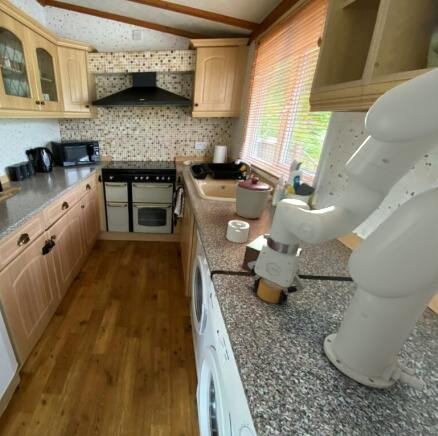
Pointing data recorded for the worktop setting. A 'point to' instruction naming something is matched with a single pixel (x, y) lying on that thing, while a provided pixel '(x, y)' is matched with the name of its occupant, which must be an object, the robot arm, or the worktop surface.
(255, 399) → the worktop surface
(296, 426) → the worktop surface
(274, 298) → the tape roll
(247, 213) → the canister
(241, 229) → the white slotted cylinder
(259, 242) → the brown square pedestal
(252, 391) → the worktop surface
